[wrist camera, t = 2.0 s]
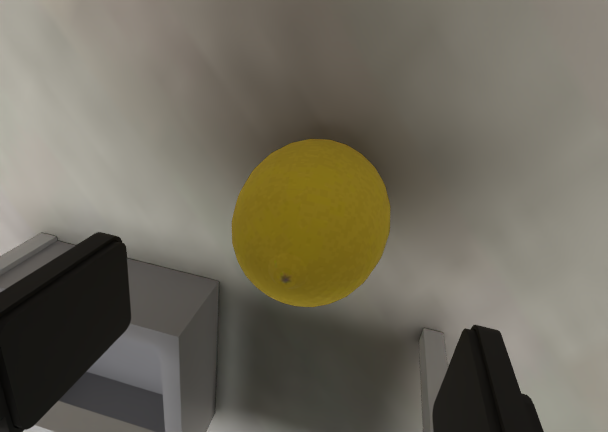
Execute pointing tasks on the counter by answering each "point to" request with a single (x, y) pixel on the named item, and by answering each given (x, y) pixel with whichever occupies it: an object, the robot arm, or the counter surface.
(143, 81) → the counter surface
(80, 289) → the robot arm
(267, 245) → the lemon
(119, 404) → the housing
